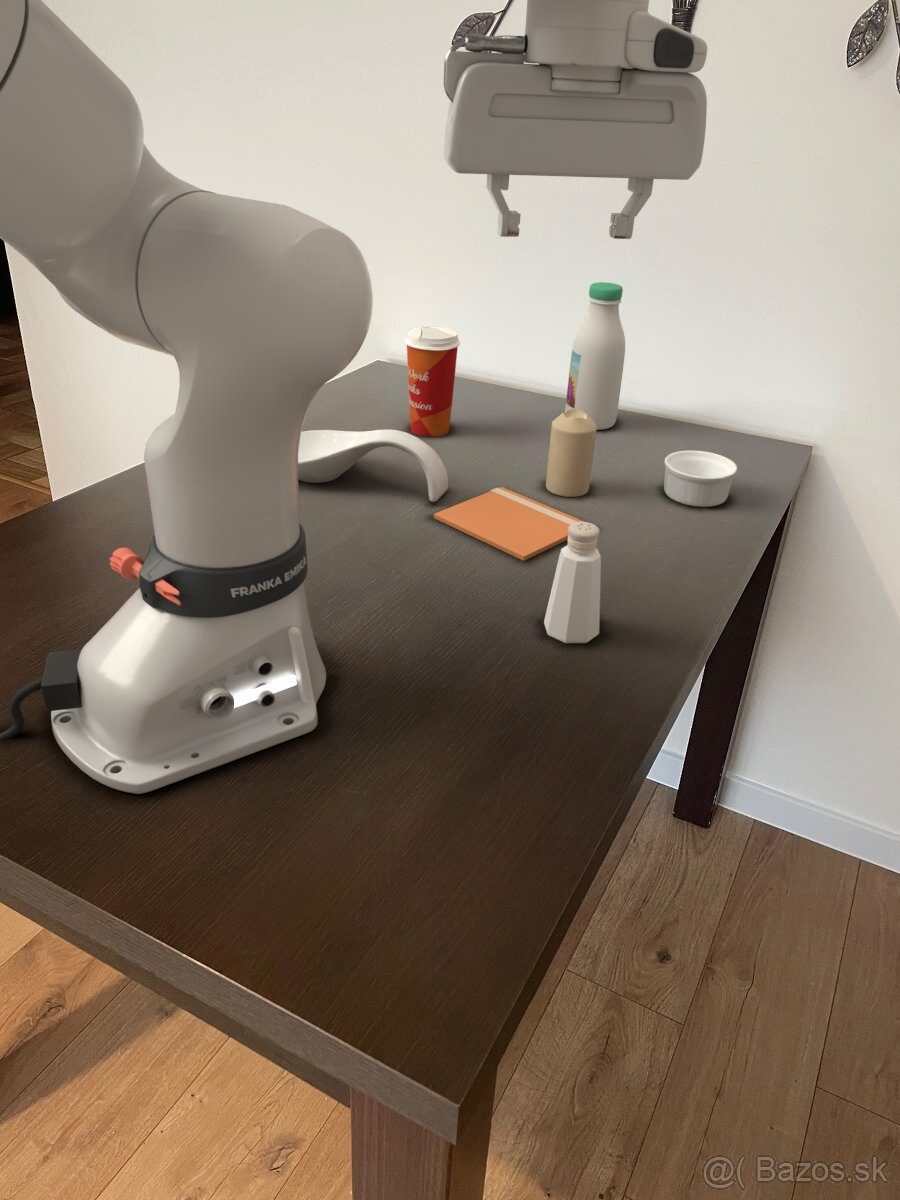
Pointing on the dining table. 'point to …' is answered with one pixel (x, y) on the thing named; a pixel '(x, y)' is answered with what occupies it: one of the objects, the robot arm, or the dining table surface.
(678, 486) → the ramekin
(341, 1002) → the dining table surface
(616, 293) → the milk bottle
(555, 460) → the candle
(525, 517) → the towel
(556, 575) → the pepper shaker
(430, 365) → the paper cup
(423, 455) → the spoon rest
